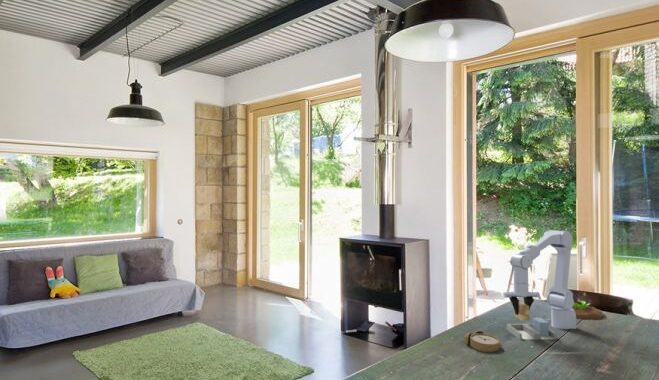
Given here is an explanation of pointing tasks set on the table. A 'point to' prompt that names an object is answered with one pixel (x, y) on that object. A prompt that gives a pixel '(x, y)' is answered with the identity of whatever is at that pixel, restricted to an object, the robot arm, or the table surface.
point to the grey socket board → (528, 332)
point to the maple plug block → (522, 312)
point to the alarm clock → (482, 341)
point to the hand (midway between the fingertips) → (521, 314)
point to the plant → (585, 309)
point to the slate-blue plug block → (541, 326)
